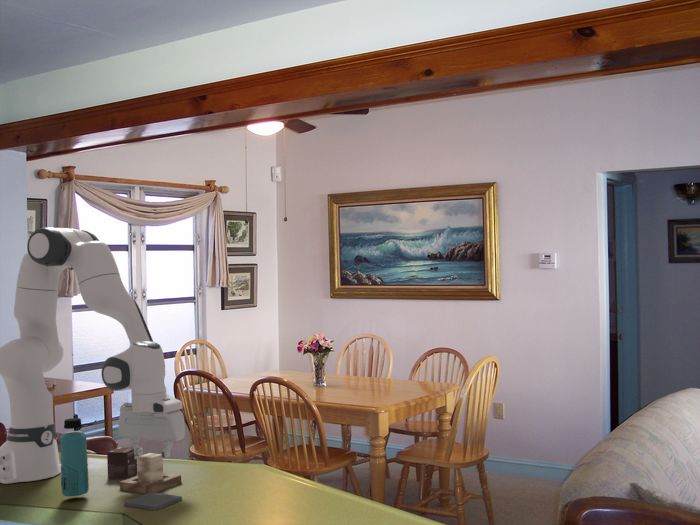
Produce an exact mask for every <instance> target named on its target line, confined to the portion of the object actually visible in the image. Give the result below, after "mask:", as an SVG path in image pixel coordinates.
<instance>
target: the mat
mask: <svg viewBox="0 0 700 525" xmlns="http://www.w3.org/2000/svg"><path fill="white" fill-rule="evenodd" d="M182 500H183V499H182V496H180V495H176V494H175V495H174V494H166V493H159V492H156V493H153V492H150V493H144V494H142V495H140V496H136V497H135V498H132V499H129V500H127V501H124V503H123V505H124V507H131V508H137V509H143V510H150V511H158V510H160V509H163V508H166V507H168V506H170V505H173V504H175V503H178V502H179V501H182Z"/></svg>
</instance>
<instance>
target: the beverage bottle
mask: <svg viewBox="0 0 700 525" xmlns="http://www.w3.org/2000/svg"><path fill="white" fill-rule="evenodd" d="M63 423H64V424H63V428H64V430H65V429H67V430H71V429H72V431H67V432H64V433H63V434H62V435H61V436H60V437H59V442H60V464H61V473H60V474H61V475H60V484H61V485H60V487H61V494H62V495H63V497H77V496H82V495H86V494H87V493H88V492H89V487H90V485H89V479H90V477H89V474H90V473H89V463H88V449H87V448H88V446H87V434H86V433H84V431H82V430H73V429H79V428H82V426H83V425H82V419H81V418H79V417H71V418H66V419H65V420H64V422H63Z"/></svg>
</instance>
